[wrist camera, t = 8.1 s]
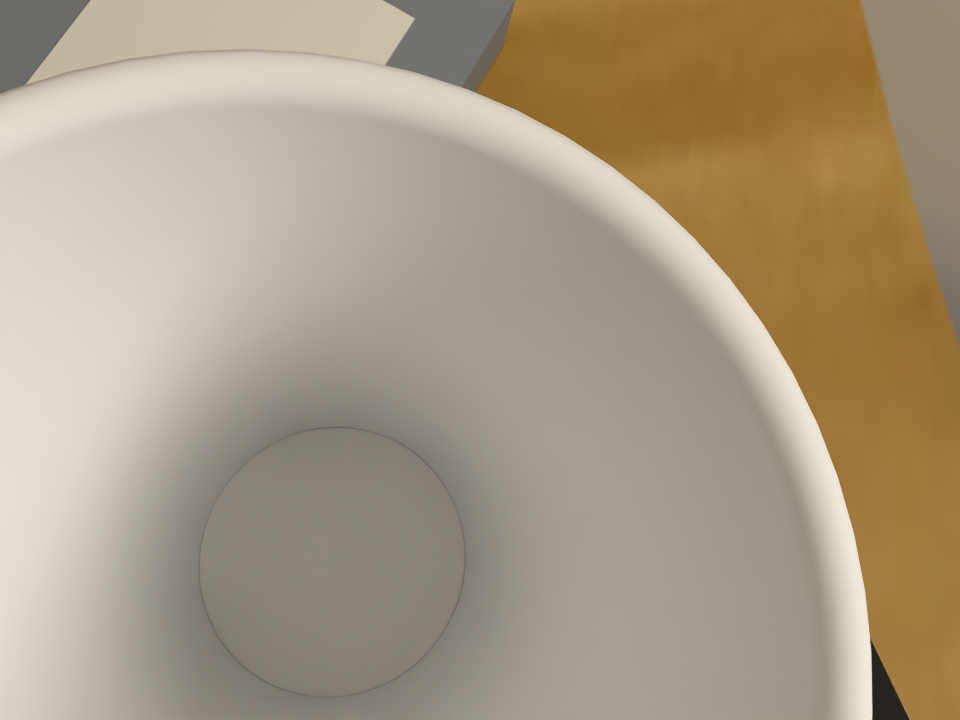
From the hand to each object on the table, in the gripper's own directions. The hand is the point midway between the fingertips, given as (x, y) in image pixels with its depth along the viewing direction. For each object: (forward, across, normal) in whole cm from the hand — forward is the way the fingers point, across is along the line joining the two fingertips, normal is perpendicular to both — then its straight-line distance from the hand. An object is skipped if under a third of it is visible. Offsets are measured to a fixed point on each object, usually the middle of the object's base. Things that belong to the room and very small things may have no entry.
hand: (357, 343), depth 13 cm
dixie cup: (0, 0, -5) cm, 5 cm away
